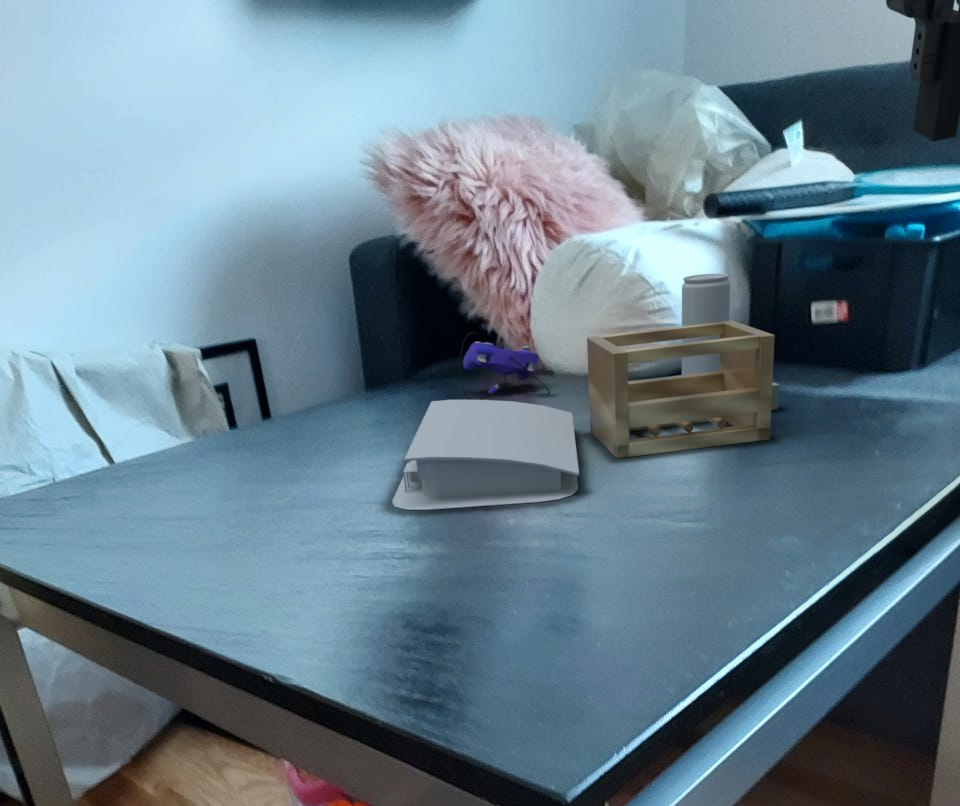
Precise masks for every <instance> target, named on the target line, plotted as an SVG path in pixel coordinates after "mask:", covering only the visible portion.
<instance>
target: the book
mask: <svg viewBox="0 0 960 806" xmlns="http://www.w3.org/2000/svg"><path fill="white" fill-rule="evenodd" d="M573 417H574V416H573V412H570V411H566V410H562V409H559V408H558V409H557V408H556V407H555V408H554V407H551V406H546V405H543V404H536V403H529V402H528V403H527V402H519V401H515V400H513V401H512V400H494V399H482V400H479V399H472V400H470V399H444V400H432V401H431V402H430V403H429V405H428V408H427V410H426V412H425V414H424V416H423V418H422V421H421V423H420V425H419V427H418V429H417V431H416V433H415V435H414V437H413V439H412V442H411V444H410V446H409V448H408V450H407V452H406V454H405V457H404V459H403V460H404V462H406V465H405V466H404V469H403V470H402V479H401V481H400V483H399V485H398V488H397V489H396V492H395V494H394V496H393V498H392V500H391V502H392V505H393V507H394V508H397V509H400V510H405V511H434V510H447V509H461V508H462V509H463V508H474V507H490V506H491V507H492V506H505V505H520V504H533V503H534V504H535V503H544V502H545V503H546V502H551V501H556V500H557V501H558V500H562V499H565V498H568V497H571V496H574V495H575V494H576V492H577V491H578V490H579V484H578V477H579V476H580V470H579V469H580V468H579V462H578V452H577V445H576V435H575V427H574V426H575V425H574V418H573Z"/></svg>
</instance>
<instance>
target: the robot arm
mask: <svg viewBox="0 0 960 806" xmlns="http://www.w3.org/2000/svg"><path fill="white" fill-rule="evenodd" d="M955 3H956V4H957V5H958V7H957V10H956V9H955V8H954V7H955ZM885 5H886V7H887V8H888V10H890V11H893V12H895V13H897V14H900V15H901V16H904V17H906V18H910V19H913V20H914V23H915V24H914V32H913V33H914V34H913V41H912V47H911V54H910V55H911V56H910V63H909V75H910V78H911V79H912V80H913V81H916V82H918V83H919V86H918V93H917V100H916V106H915V114H914V121H913V128H912V130H913V131H915V132H916V133H918V134H919V135H921V136H923V137H924V138H925V139H928V140H929V141H930V142H932V143H933V142H939V141H943V140H948V139H952V138H957V134H958V133H957V132H958V126H959V122H960V121H959V120H960V0H885Z"/></svg>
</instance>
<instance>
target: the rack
mask: <svg viewBox="0 0 960 806" xmlns="http://www.w3.org/2000/svg"><path fill="white" fill-rule="evenodd" d="M713 335H720V339H714V340H706V341H697V342H689V343H682V342H680V343H673V344H664V345H655V346H646V347H645V346H644V347H639V348H629V349H622V348H620V347H627V346H635V345H644V344H651V343H660V342H669V341H678V340H679V341H680V340H682V339H687V338H696V337H705V336H713ZM775 337H776V336H775V334H772V333H769V332H767V331H764V330H762V329H761V330H760V329H759V328H755V327H752V326H749V325H747V324H744V323H741V322H738V321H734V320H732V319H731V320H729V321H722V322H716V323H707V324H699V325H690V326H682V325H681V326H673V327H664V328H656V329H645V330H639V331H630V332H622V333H613V334H611V333H610V334H604V335H592V336H586V348H587V349H586V350H587V374H588V377H587V378H588V396H589V397H588V399H589V426H590V433H591V434H592V435H593V436H594V437H595V438H596V439H597V440H598V441H599V442H600V443H601V444H602V446H604V448H606V450H608V451H609V452H610V454H612V455H613V456H614V457H615V458H616V459H624V458H625V459H626V458H631V457H633V458H634V457H639V456H648V455H655V454H663V453H672V452H680V451H688V450H689V451H690V450H697V449H704V448H711V447H720V446H726V445H727V446H728V445H735V444H745V443H752V442H761V441H768V440H769V441H770V440H771V428H772V427H771V424H772V410H771V406H772V383H774V382H773V380H774V361H775V360H774V358H775ZM714 353H720V356H719V371H712V372H704V373H695V374H687V375H682V374H679V375H672V376H662V377H654V378H645V379H636V380H629V369H628V368H629V367H628V366H629V365H628V364H636V363H644V362H652V361H653V362H654V361H661V360H671V359H679V358H682V357H689V356H697V355H706V354H714ZM709 422H710V423H711V424H713V425H714V426H716V427H717V428H713V429H705V430H704V429H703V430H696V431H693V430H694V424H701V423H709ZM727 423H728V424H729V425H731V426H729V427H726V425H727ZM675 426H678V428H681V429H682V430H684V431H685V432H681V433H679V432H678V433H672V434H664V435H660V434H661V428H667V427H675ZM645 430H646V431H647V432H649V434H651V435H652V436H645V437H639V438H632V439H631V438H630V432H635V431H645Z"/></svg>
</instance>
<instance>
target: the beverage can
mask: <svg viewBox="0 0 960 806" xmlns="http://www.w3.org/2000/svg"><path fill="white" fill-rule="evenodd" d="M729 277H730V275H729V274H728V273H703V274H694V275H687V276H684V277H683V278H682V279H683V281H684V282H683V283H682V285H681V326H690V325H699V324H707V323H716V322H722V321H730V310H731V309H730V308H731V281H730V280H729ZM714 339H720V335H713V336H705V337H696V338H687V339H681V343H689V342H697V341H706V340H714ZM719 356H720V353H714V354H706V355H697V356H689V357H681V375H687V374H695V373H704V372H712V371H719Z"/></svg>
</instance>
